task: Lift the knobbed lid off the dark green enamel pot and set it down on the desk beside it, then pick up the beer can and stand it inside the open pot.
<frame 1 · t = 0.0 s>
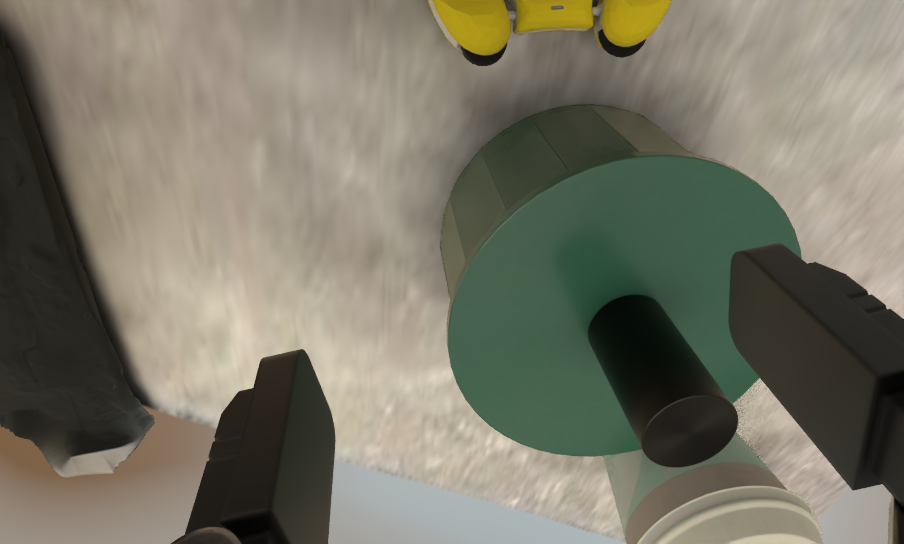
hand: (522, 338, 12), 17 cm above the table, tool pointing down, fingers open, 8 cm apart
coffee cup: (638, 397, 37), on the table
handgun: (104, 277, 27), point 1 cm above the table
lid: (622, 320, 24), point 7 cm above the table, touching pot
pot: (569, 233, 30), on the table
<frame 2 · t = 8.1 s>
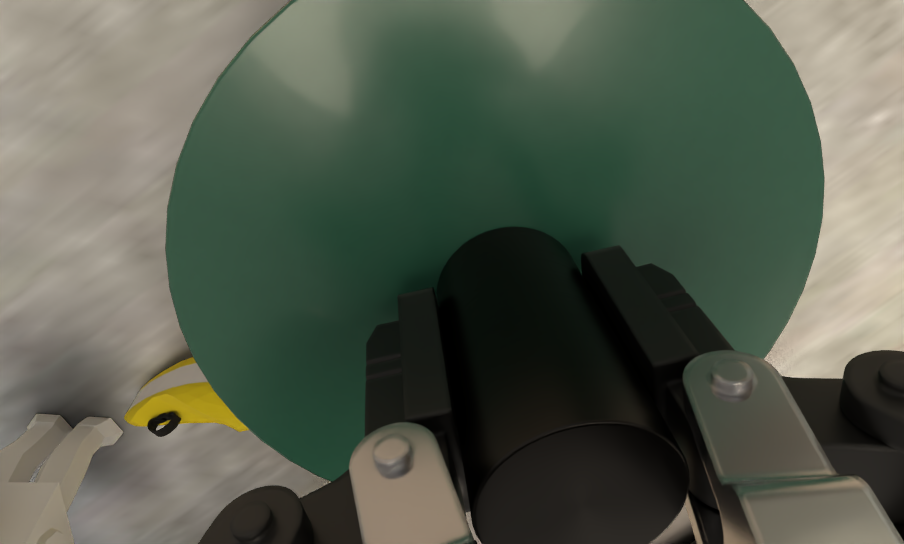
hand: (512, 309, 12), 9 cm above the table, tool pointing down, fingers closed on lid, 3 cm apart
lid: (503, 277, 13), point 7 cm above the table, touching gripper, pot
yellow curved piece: (291, 404, 25), on the table
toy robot: (73, 409, 23), on the table
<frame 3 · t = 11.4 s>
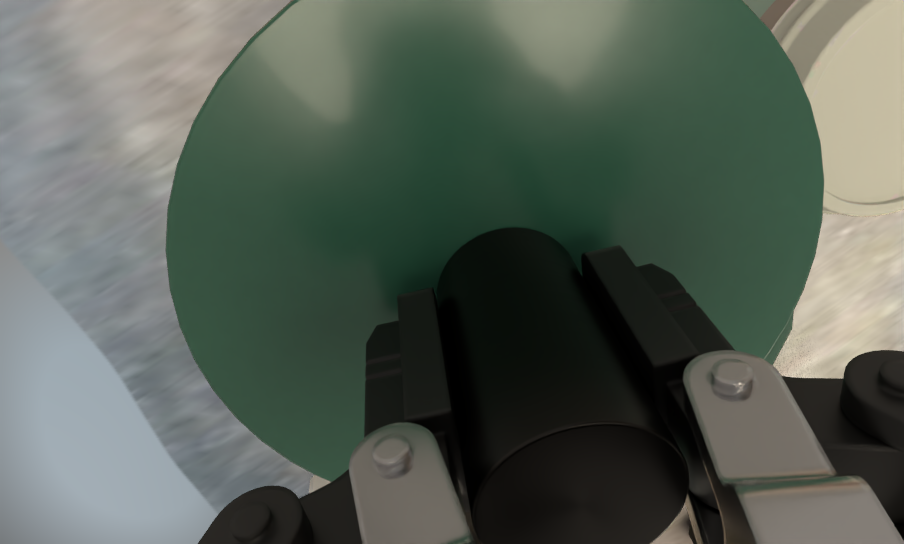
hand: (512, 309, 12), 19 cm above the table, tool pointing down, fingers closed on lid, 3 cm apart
coffee cup: (716, 36, 29), on the table
lid: (503, 278, 14), point 18 cm above the table, touching gripper
pot: (603, 261, 34), on the table
when the fingers open (2 cm above the table, at t = 15.2 s): lid stays where it is, point 1 cm above the table.
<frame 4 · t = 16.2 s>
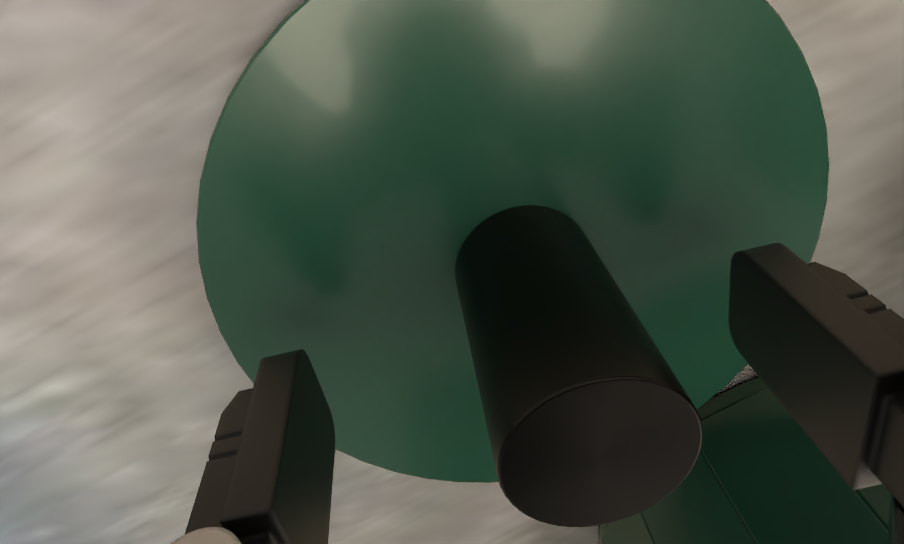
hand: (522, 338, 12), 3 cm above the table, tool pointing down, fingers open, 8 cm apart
lid: (518, 256, 14), point 1 cm above the table
pot: (783, 507, 21), on the table
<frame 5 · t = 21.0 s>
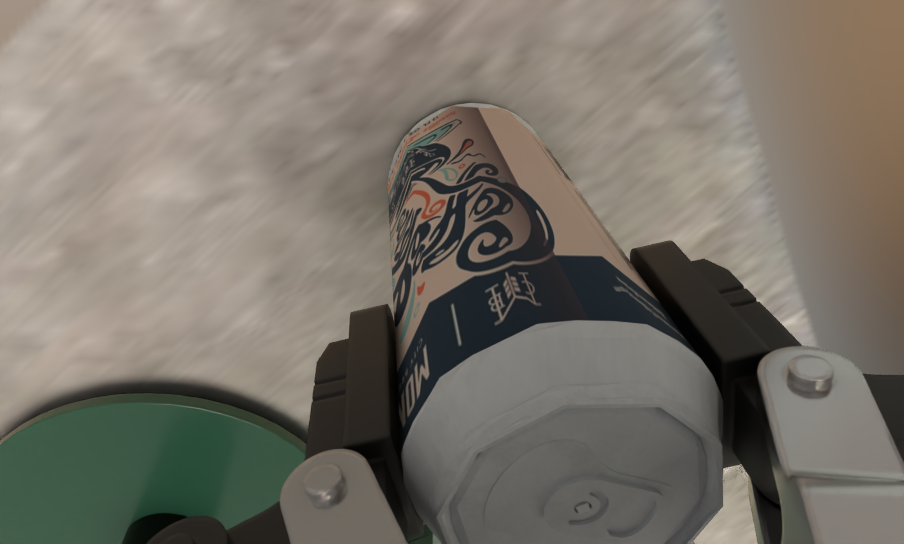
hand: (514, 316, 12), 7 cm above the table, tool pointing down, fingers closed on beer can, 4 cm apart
lid: (171, 528, 24), point 1 cm above the table
beer can: (466, 175, 19), on the table, touching gripper
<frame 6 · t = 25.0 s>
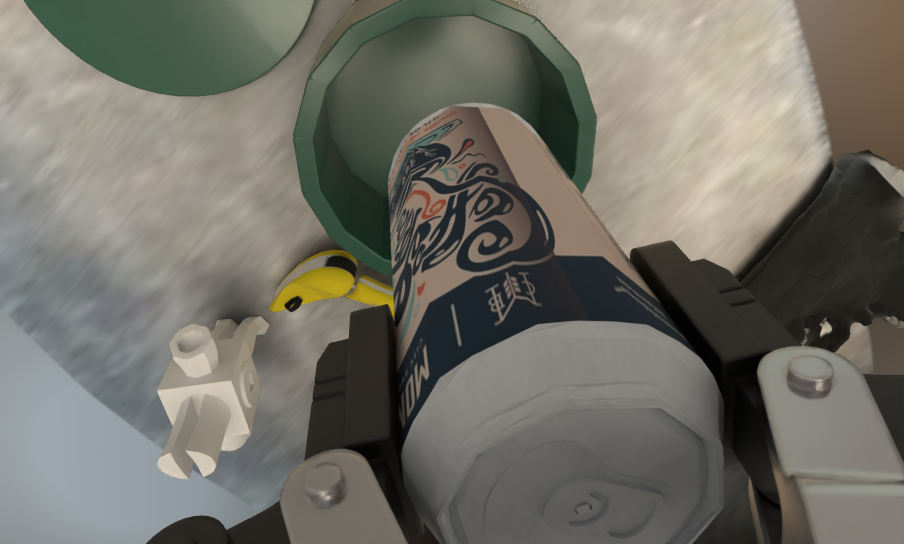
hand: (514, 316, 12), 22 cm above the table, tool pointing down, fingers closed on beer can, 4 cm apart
handgun: (731, 282, 39), point 1 cm above the table
pot: (434, 107, 33), on the table
beer can: (467, 175, 19), point 15 cm above the table, touching gripper
yellow curved piece: (367, 290, 38), on the table
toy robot: (238, 314, 38), on the table
when the fingers open (8 cm above the table, at t = 28.9 s): beer can stays where it is, resting on pot.
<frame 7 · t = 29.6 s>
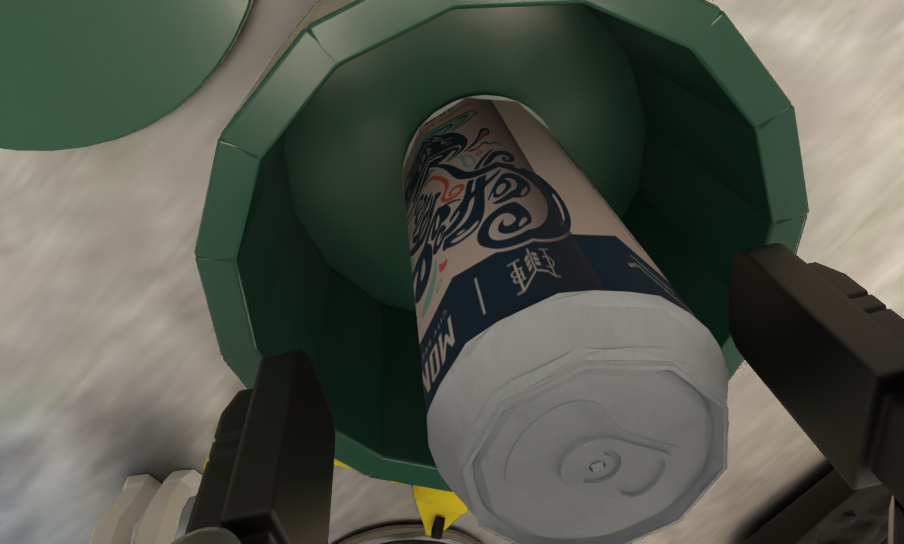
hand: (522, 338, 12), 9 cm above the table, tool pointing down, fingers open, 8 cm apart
pot: (467, 162, 20), on the table
beer can: (478, 166, 19), resting on pot
yellow curved piece: (357, 429, 25), on the table
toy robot: (159, 466, 25), on the table
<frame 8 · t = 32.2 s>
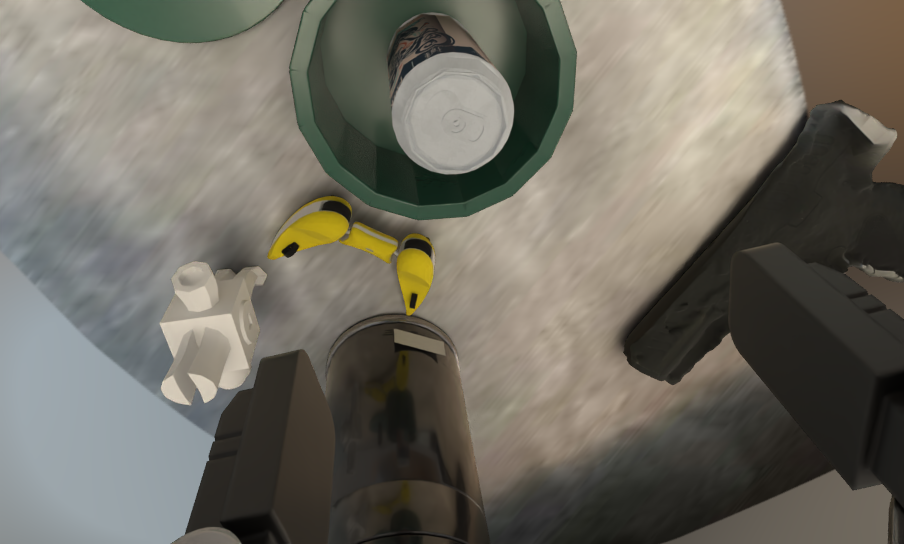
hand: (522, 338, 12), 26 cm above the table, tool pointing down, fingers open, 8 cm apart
handgun: (712, 232, 40), point 1 cm above the table
pot: (425, 56, 34), on the table
beer can: (431, 57, 34), resting on pot
yellow curved piece: (362, 240, 39), on the table
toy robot: (236, 264, 39), on the table
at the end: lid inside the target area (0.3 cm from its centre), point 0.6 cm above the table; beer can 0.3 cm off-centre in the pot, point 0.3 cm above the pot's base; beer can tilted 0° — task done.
